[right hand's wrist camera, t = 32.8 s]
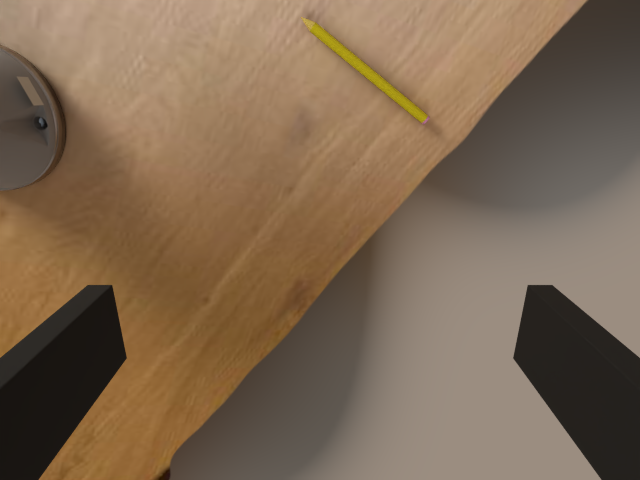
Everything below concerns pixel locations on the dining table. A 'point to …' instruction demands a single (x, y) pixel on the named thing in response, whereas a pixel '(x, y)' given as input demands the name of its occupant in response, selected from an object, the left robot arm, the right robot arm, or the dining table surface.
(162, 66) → the dining table surface
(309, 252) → the dining table surface
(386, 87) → the pencil
